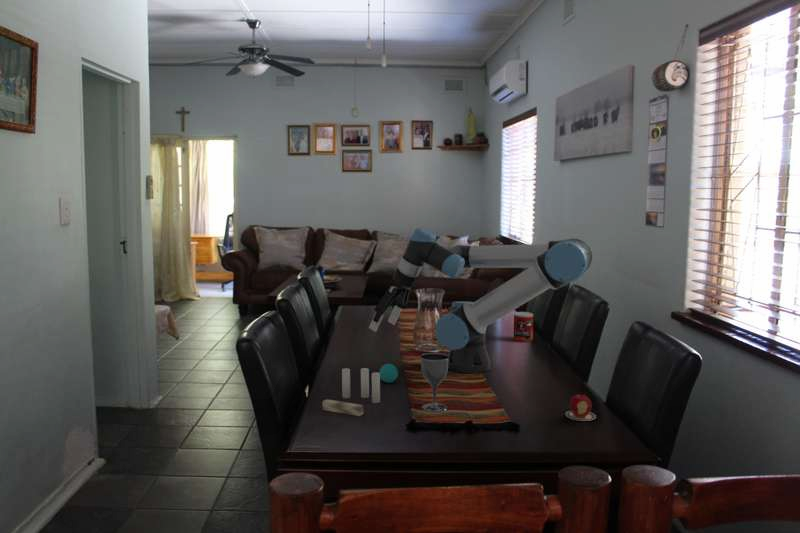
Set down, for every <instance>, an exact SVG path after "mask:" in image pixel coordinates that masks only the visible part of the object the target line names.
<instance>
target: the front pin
mask: <svg viewBox="0 0 800 533" xmlns="http://www.w3.org/2000/svg"><path fill="white" fill-rule="evenodd" d="M369 369H370V368H368V367H367V368H366V367H363V368H360V397H361V398H362V399H368V398H369V397H370V370H369Z"/></svg>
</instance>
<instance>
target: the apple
mask: <svg viewBox="0 0 800 533" xmlns="http://www.w3.org/2000/svg"><path fill="white" fill-rule="evenodd" d="M586 395H587V394H586V393H584V394H576V395H573V396H572V397H571V399H570V401H569V407H570V408H569V409H570V410H568V411H566V412H565V417H567V418H569V419H571V420H573V421H574V420H575V421H580V422H588V421H589V422H590V421H593V420H595V419H596V418H597V415H596V414H595V413H593V412H591V410H592V407H593V406H592V402H591V399H589V397H588V396H586Z"/></svg>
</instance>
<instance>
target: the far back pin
mask: <svg viewBox="0 0 800 533" xmlns="http://www.w3.org/2000/svg"><path fill="white" fill-rule="evenodd" d="M341 388H342V389H341V393H342V394H341V395H342V398H343V399H350V398H351V369H350V368H347V367H346V368H342V369H341Z"/></svg>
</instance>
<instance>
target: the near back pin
mask: <svg viewBox="0 0 800 533" xmlns="http://www.w3.org/2000/svg"><path fill="white" fill-rule="evenodd" d="M380 381H381V378H380V373H379V372H375V371H374V372H372V373H371V403H373V404H379V403H380V402H381V382H380Z"/></svg>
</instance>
